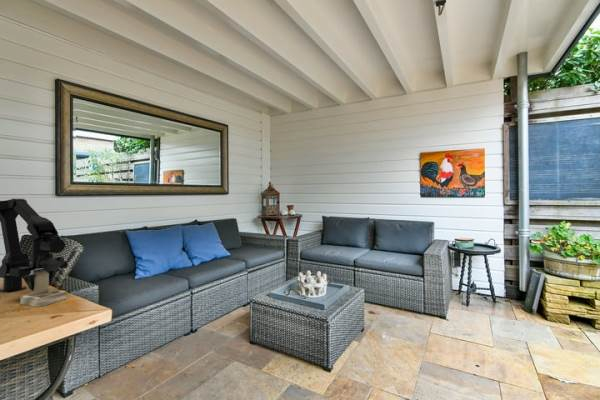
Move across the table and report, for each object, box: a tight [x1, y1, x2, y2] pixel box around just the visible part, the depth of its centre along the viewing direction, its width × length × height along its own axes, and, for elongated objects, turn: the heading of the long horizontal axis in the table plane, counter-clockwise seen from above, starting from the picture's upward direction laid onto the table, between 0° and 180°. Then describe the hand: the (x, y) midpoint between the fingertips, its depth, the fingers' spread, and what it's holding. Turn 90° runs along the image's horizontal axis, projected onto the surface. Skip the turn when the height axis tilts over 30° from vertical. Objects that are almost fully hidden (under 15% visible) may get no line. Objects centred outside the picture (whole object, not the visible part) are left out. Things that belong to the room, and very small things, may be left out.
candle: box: [30, 270, 50, 294], centre depth 125 cm, size 6×6×10 cm
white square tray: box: [20, 288, 68, 308], centre depth 118 cm, size 10×10×3 cm
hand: (40, 288), depth 125 cm, fingers closed on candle, 5 cm apart
